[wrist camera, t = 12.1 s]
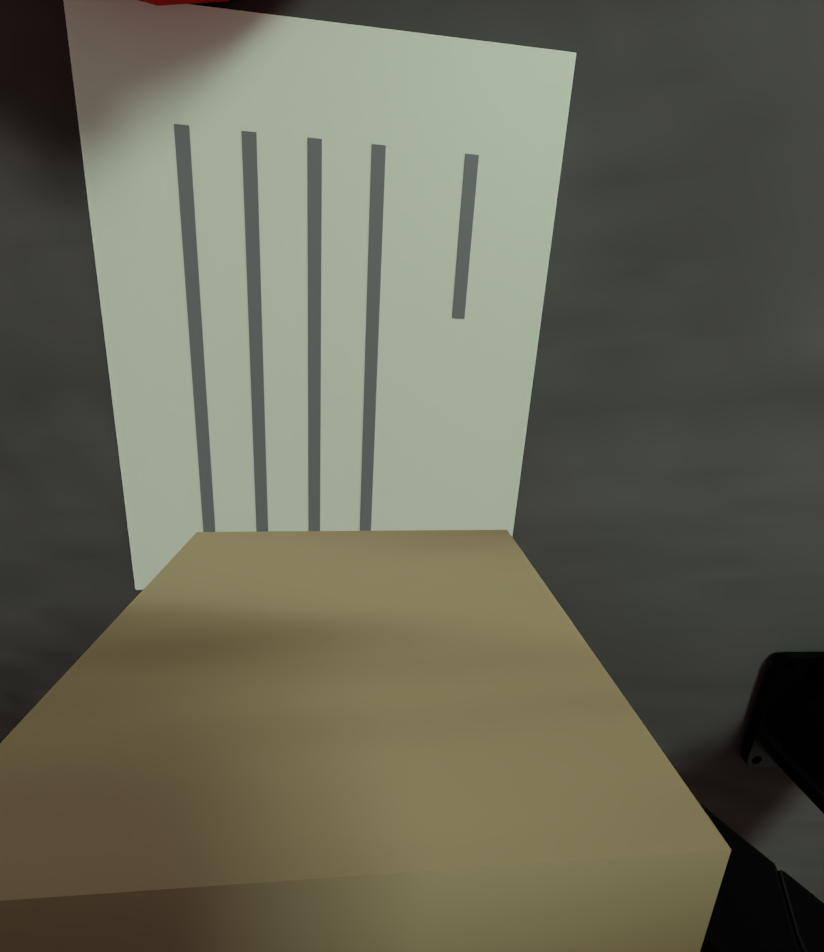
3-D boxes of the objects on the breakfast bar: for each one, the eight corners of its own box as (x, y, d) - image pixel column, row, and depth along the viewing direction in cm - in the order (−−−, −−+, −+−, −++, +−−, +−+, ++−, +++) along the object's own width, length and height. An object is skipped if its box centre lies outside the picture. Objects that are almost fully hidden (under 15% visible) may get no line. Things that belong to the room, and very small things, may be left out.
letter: (503, 593, 20) (504, 595, 19) (136, 588, 18) (135, 590, 18) (575, 54, 14) (576, 51, 14) (64, -9, 13) (61, -13, 13)
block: (485, 763, 9) (610, 1240, 4) (225, 776, 9) (39, 1320, 4) (506, 529, 8) (731, 850, 3) (196, 532, 7) (-157, 911, 2)
